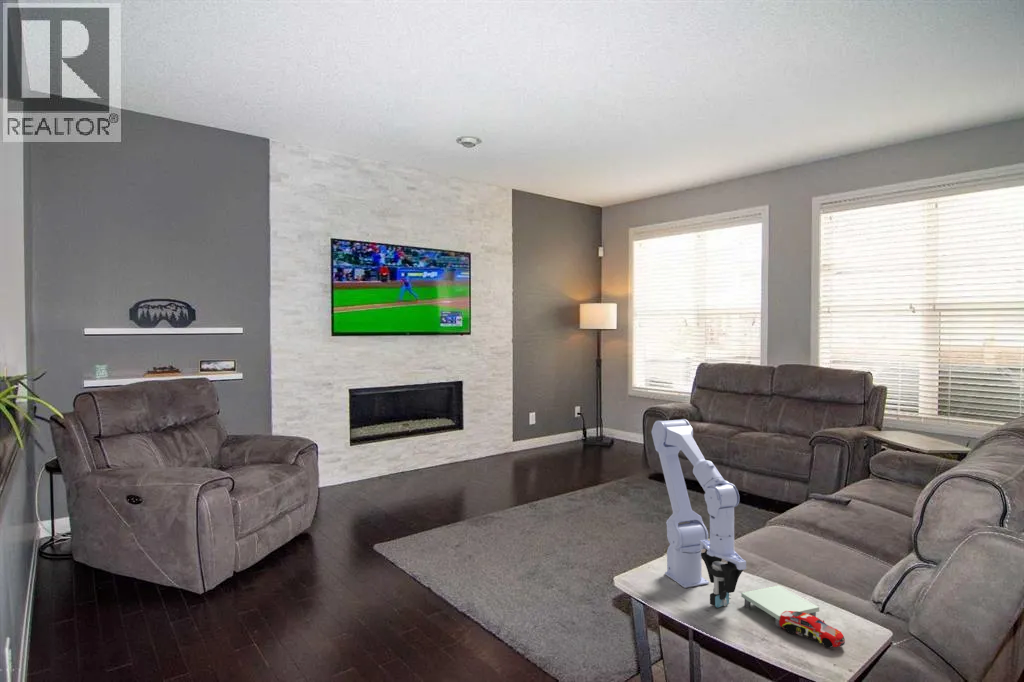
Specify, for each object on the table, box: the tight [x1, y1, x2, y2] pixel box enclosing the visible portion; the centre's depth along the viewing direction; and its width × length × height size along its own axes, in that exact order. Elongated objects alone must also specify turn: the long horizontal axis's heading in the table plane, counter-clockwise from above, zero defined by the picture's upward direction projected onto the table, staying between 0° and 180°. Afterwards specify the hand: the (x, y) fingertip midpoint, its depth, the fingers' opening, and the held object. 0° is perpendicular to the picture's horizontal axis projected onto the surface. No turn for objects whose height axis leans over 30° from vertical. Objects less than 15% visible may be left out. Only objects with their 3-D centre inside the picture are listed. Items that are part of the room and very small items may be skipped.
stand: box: [740, 584, 820, 629], centre depth 132 cm, size 12×12×3 cm
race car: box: [779, 611, 846, 649], centre depth 121 cm, size 13×5×4 cm, turn 37°
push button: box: [709, 561, 732, 608], centre depth 135 cm, size 7×5×10 cm
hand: (722, 586), depth 135 cm, fingers closed on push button, 5 cm apart
